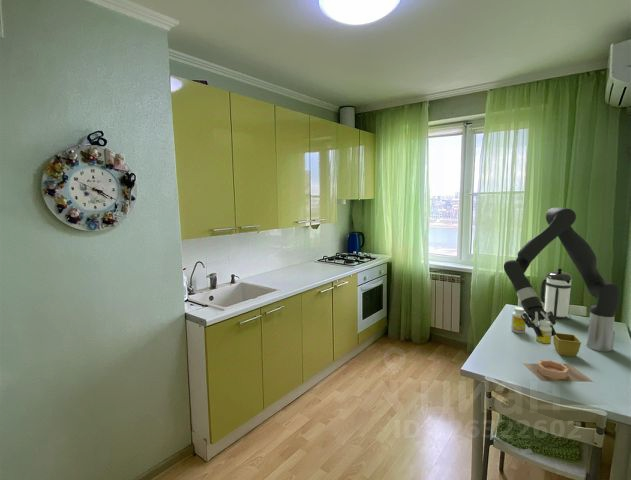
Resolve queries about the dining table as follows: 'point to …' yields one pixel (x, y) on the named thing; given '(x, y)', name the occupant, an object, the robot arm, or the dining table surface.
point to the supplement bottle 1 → (518, 321)
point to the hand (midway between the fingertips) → (547, 335)
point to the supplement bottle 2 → (544, 333)
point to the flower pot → (566, 344)
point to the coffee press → (557, 293)
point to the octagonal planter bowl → (552, 369)
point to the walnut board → (572, 376)
